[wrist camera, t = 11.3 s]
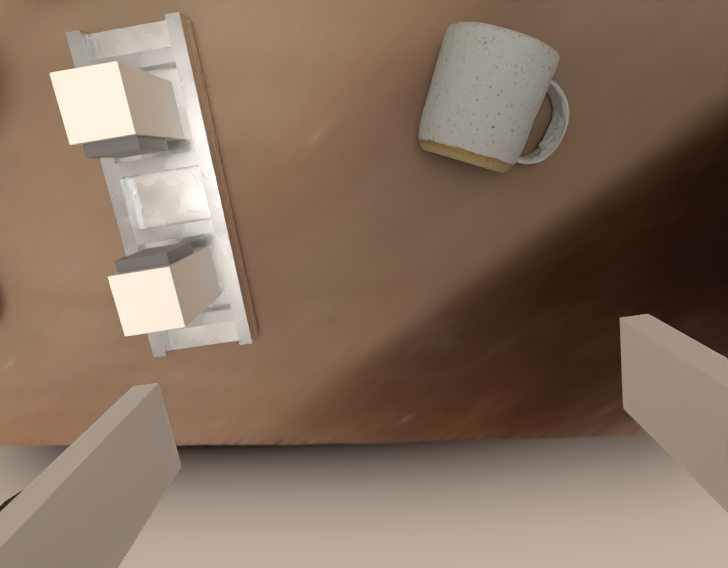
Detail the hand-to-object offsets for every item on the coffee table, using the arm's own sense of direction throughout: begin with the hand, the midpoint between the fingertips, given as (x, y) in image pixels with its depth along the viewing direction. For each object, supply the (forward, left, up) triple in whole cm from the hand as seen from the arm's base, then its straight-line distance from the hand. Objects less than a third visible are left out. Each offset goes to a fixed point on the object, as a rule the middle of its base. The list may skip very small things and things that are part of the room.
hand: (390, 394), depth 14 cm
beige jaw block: (+15, 0, -25) cm, 29 cm away
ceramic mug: (-10, -9, -27) cm, 30 cm away
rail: (+15, -6, -27) cm, 31 cm away
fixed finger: (+15, -12, -25) cm, 32 cm away
